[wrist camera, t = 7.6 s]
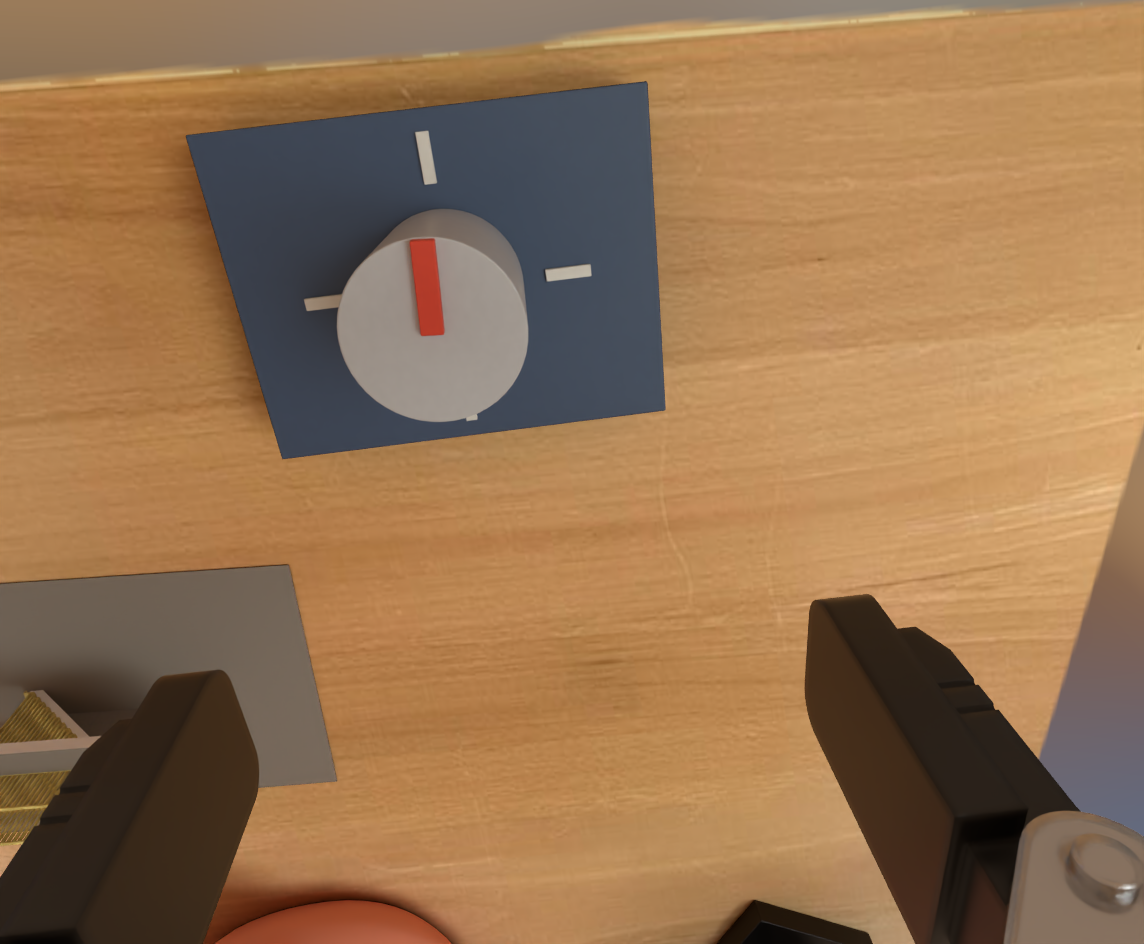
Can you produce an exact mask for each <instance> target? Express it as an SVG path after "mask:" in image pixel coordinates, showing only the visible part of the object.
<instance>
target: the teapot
mask: <svg viewBox="0 0 1144 944" xmlns="http://www.w3.org/2000/svg"><path fill="white" fill-rule="evenodd" d="M215 944H451V943H450V941H449V940H448V939H447V938H446V937H445V936H444V935H443V934H441V933H440V932H439V931H438V930H437V929H436V928H434V927H433V926H431V925H430V924H429V923H427V922H426V921H424V920H423V919H421V918H419V917H417V916H416V915H414V914H412V913H410V912H407V911H405V910H402V909H400V908H397V907H394V906H390V905H387V904H383V903H377V902H371V901H359V900H342V901H328V902H321V903H315V904H308V905H303V906H299V907H294V908H289V909H286V910H282V911H279V912H276V913H272V914H269V915H266V916H264V917H261V918H258V919H256V920H253V921H251V922H249V923H247V924H245V925H243V926H241V927H239V928H237V929H235V930H234V931H232V932H231V933H229V934H228V935H226V936H224V937H223V938H222V939H220V940H219V941H217V942H216V943H215Z"/></svg>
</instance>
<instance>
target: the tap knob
mask: <svg viewBox="0 0 1144 944" xmlns="http://www.w3.org/2000/svg"><path fill="white" fill-rule="evenodd" d="M337 334H338V341H339V345H340V349H341V353H342V355H343V358H344V360H345V363H346V365H347V367H348V369H349V370H350V372H351V374H352V375H353V377H354V378H355V380H356V381H357V382H358V384H359V385H360V386H361V387H362V388H363V389H364V390H365V392H366V393H367V394H369V395H370V396H371V397H372V398H373V399H374V400H376V401H377V402H378V403H380V404H381V405H383V406H384V407H386V408H388V409H390V410H392V411H394V412H395V413H398V414H400V415H403V416H406V417H408V418H412V419H416V420H421V421H429V422H447V421H455V420H459V419H463V418H467V417H470V416H472V415H475V414H478V413H480V412H481V411H483V410H485V409H487V408H489V407H490V406H491V405H493V404H494V403H495V402H497V401H498V400H499V399H500V398H501V397H502V396H503V395H504V394H505V393H506V392H507V391H508V390H509V388H510V387H511V386H512V385H513V383H514V382H515V380H516V378H517V377H518V375H519V373H520V371H521V368H522V366H523V364H524V360H525V357H526V353H527V346H528V321H527V310H526V300H525V290H524V281H523V274H522V270H521V266H520V263H519V260H518V258H517V255H516V253H515V252H514V250H513V248H512V246H511V245H510V243H509V242H508V241H507V239H506V238H505V237H504V236H503V235H502V234H501V233H500V232H499V231H498V230H497V229H496V228H495V227H494V226H492V225H491V224H490V223H488V222H487V221H485V220H484V219H482V218H480V217H478V216H476V215H473V214H471V213H468V212H464V211H460V210H454V209H434V210H428V211H424V212H421V213H418V214H416V215H413V216H411V217H409V218H408V219H406V220H404V221H403V222H401V223H400V224H399V225H398V226H396V227H395V228H394V229H393V230H392V231H391V232H390V234H389V235H388V236H387V237H386V238H385V239H384V240H383V241H382V242H381V243H380V244H379V245H378V246H377V247H376V248H375V249H374V250H373V252H372V253H371V254H370V255H369V256H368V257H367V258H366V259H365V260H364V261H363V262H362V263H361V264H360V265H359V266H358V267H357V269H356V270H355V271H354V273H353V274H352V276H351V277H350V278H349V280H348V282H347V284H346V286H345V288H344V290H343V293H342V296H341V299H340V302H339V307H338V313H337Z"/></svg>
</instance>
